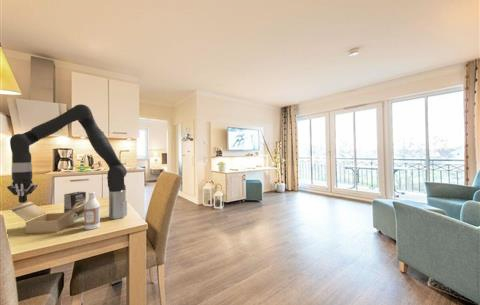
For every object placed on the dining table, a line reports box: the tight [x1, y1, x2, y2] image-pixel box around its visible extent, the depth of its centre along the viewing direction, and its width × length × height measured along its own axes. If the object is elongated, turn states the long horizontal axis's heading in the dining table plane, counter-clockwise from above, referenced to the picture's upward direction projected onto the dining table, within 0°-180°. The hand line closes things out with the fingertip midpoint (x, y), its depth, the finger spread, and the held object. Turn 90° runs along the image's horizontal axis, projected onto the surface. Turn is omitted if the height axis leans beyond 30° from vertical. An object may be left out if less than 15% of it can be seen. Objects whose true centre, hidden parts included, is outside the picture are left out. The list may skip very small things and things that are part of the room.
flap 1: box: [9, 201, 47, 222], centre depth 109 cm, size 1×12×10 cm
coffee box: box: [63, 191, 87, 221], centre depth 126 cm, size 9×6×16 cm
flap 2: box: [59, 203, 86, 219], centre depth 112 cm, size 1×12×10 cm
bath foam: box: [83, 191, 101, 231], centre depth 111 cm, size 7×7×20 cm
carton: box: [25, 212, 75, 235], centre depth 111 cm, size 14×14×6 cm
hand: (22, 202), depth 108 cm, fingers closed
